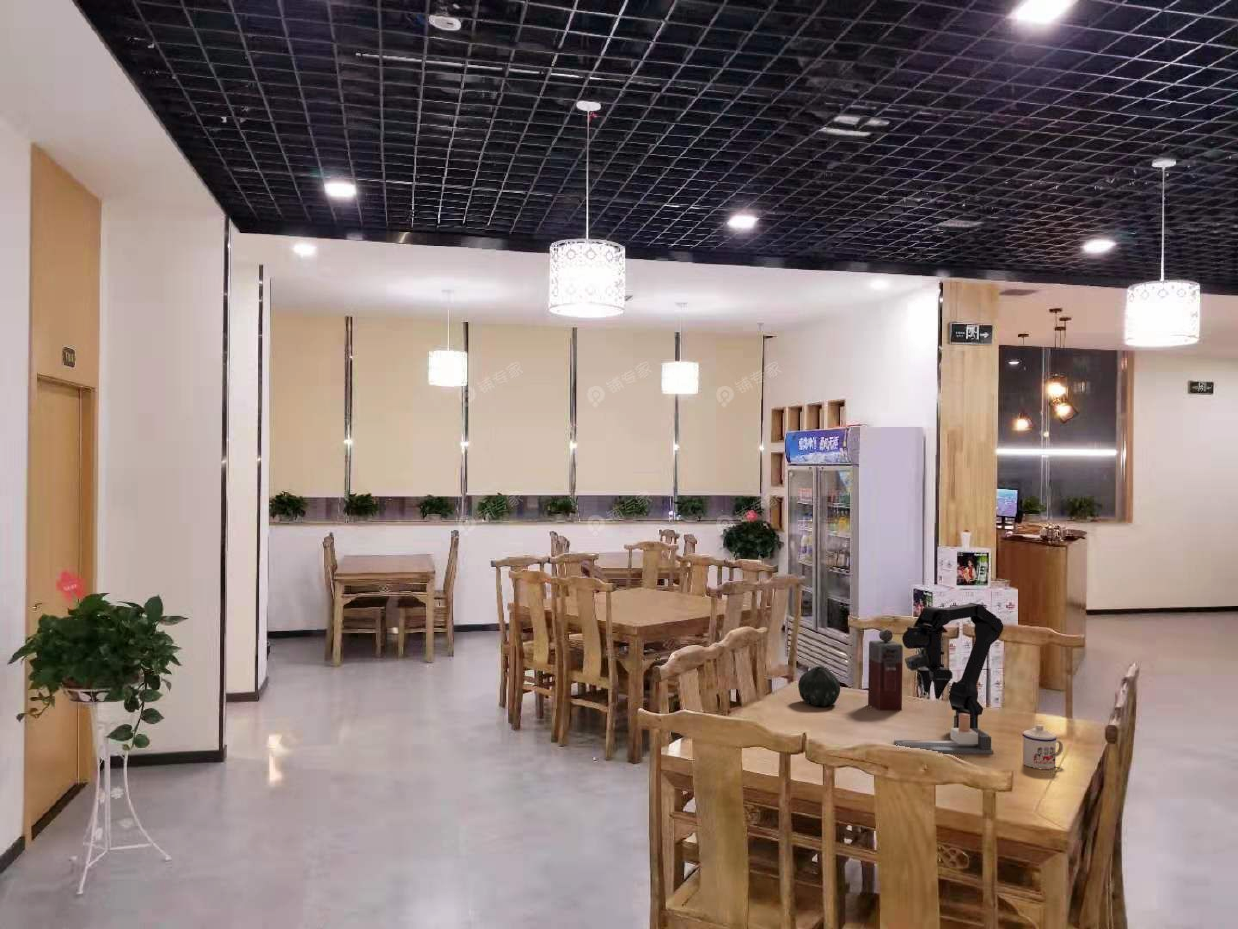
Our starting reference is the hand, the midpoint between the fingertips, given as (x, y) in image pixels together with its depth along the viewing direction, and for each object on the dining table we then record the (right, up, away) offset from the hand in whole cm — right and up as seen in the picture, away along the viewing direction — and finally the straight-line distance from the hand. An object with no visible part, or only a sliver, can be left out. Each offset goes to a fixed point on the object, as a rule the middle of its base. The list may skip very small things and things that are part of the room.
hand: (931, 695), depth 304 cm
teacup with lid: (+23, -13, -29) cm, 39 cm away
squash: (-28, -13, +40) cm, 50 cm away
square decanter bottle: (-5, -14, +36) cm, 39 cm away
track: (-1, -13, -14) cm, 19 cm away
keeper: (+5, -11, -14) cm, 18 cm away
